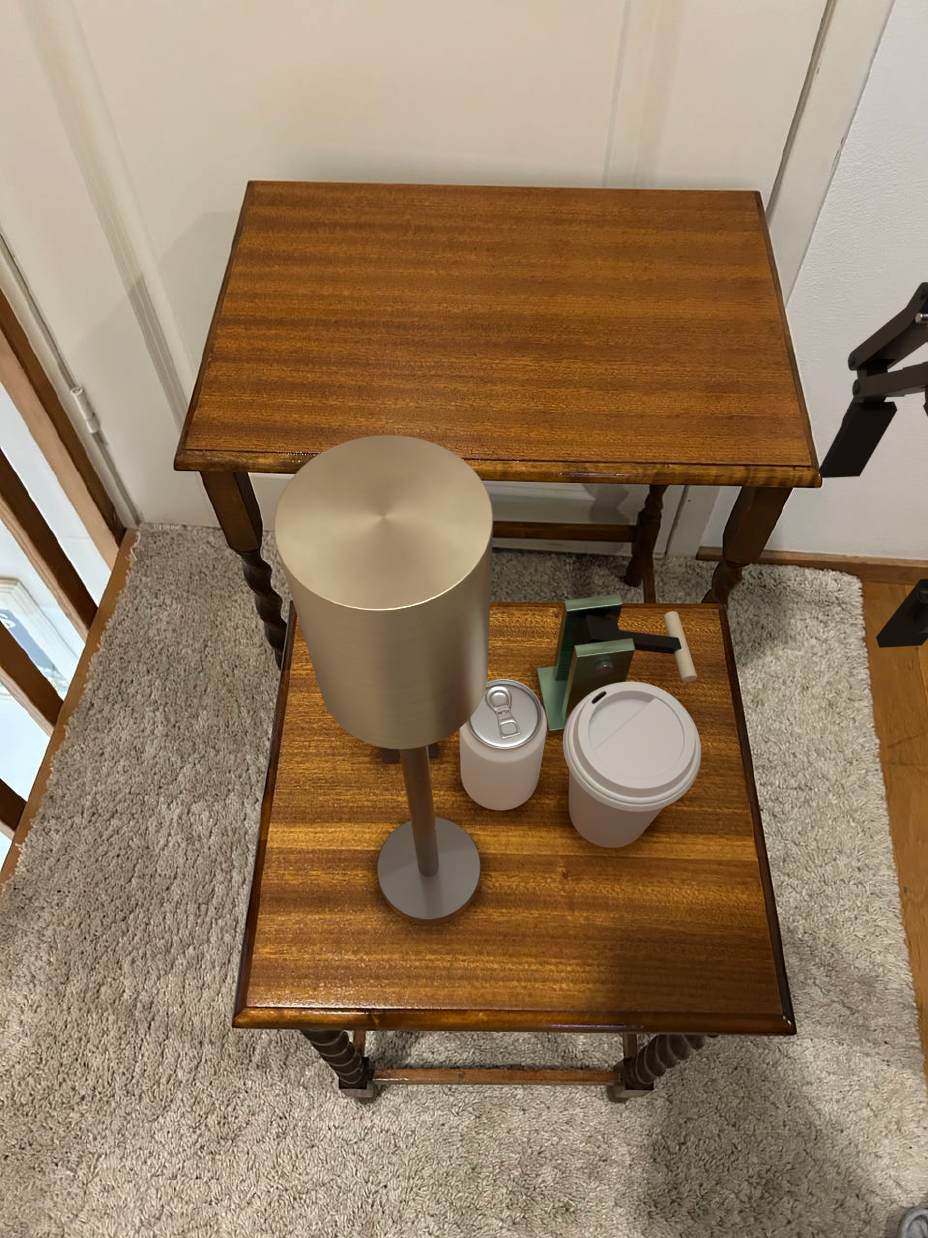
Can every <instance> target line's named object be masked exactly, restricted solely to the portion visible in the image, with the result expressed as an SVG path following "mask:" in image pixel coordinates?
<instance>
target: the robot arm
mask: <svg viewBox="0 0 928 1238" xmlns="http://www.w3.org/2000/svg"><path fill="white" fill-rule="evenodd" d="M925 344H928V281H922V282H921V283H920V284H919V285H918V287H917V288H916V290H915V291H914V293H913V295H912V296H911V298H910V299H909V301H908V303H907V304H906V306H905V307H904V308H903V309H902V310H901V311H900V312H898V313H897V314H896V315H895V316H893V317H892V318H891V319H890V320H889V321H887V322H886V323H885V324H884V325H882V326H881V327H880V328H879V329H878V330H876V331H875V332H874V333H872V334H871V335H870V336H869V337H868V338H866V339H865V340H864V341H863V342H862V343H860V345H858V346H857V347H855V348H854V349H853V350H852V351H851V352H850V353H849V355H848V357H847V366H848V370H849V371H851V372H856V377H857V378H856V379H855V380H854V381H853V383H852V387H851V393H852V394H851V395H852V399H851V401H850V402H849V405H848V407H847V409H846V411H845V412H844V415H843V416H842V419H841V423H840V427H839V429H838V431H837V433H836V435H835V437H834V439H833V441H832V443H831V444H830V447H829V449H828V451H827V453H826V454H825V457H824V459H823V460H822V463H821V465H819V469H818V472H819V475H820V477H821V479H832V478H834V479H836V478H857V477H861V475H862V474H863V472H864V470H865V468H866V467H867V464H868V463H869V461H870V459H871V457H872V456H873V454H874V452H875V450H876V449H877V447H878V445H879V443H880V442H881V440H882V438H883V437H884V434H886V431H887V430H888V428H889V426H890V424H891V422H892V420H893V419H894V417H895V415H896V413H897V412H898V408H897V405H896V402H895V401H892V400H891V401H890V400H889V401H886V400H887V398H904V397H905V396H908V395H915V394H920V393H924V401H925V402H924V403H923V405H922V408H923V410H924V412H925V414H926V417H928V360H925V361H923V362H921V363H917V364H912V365H908V366H904V367H902V368H901V369H897V370H892V371H889V370H890V369H891V368H893V367H894V366H896V365H897V364H899V363H900V362H901V361H902V360H904V359H906V358H907V357H908V356H910V355H911V354H912V353H914V352H915V351H917V350H919V348H921V347H922V346H923V345H925ZM875 640H876V642H877V646H878V648H879V649H882V648H885V649H886V648H900V647H901V648H902V647H903V648H904V647H905V648H906V647H922V646H923V645H924V644H925V643H926V642H927V640H928V578H920V579H919V580H918V581H917V583H916V584H915V586H914V587H913V588H912V589H911V590H910V592H909V594H907V596H906V597H905V598H904V600H903V601H902V602H901V604H900V605H899V607H898V608H896V610H895V612H894V613H893V614H892V615H891V617H890V618H889V619H888V621H887V622H886V623H885V625H884V626H883V627H882V628H881V630H880V631H879V632H878V634H877V635H876V636H875Z"/></svg>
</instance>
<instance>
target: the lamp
mask: <svg viewBox="0 0 928 1238" xmlns="http://www.w3.org/2000/svg"><path fill="white" fill-rule="evenodd" d="M493 532H494V511H493V504H492V501H491V497H490V494H489V492H488V489H487V487H486V485H485V483H484V482H483V480H482V479H481V477H480V476H479V474H478V473H477V472H476V471H475V469H473V467H472V466H471V465H470V464H469V463H468V462H466V460H464V459H463V458H462V457H460V456H459V455H457V454H456V453H454V452H453V451H451V450H450V449H448V448H446V447H443V446H442V445H440V444H437V443H435V442H432V441H430V440H426V439H422V438H419V437H415V436H414V437H413V436H408V435H399V434H382V435H381V434H380V435H369V436H363V437H359V438H355V439H351V440H347V441H345V442H342V443H339V444H336V445H334V446H332V447H330V448H327V449H326V450H324V451H322V452H321V453H319V454H318V455H316V456H315V457H313V458H311V459H310V460H308V461H307V462H306V463H305V464H304V465H303V466H302V467H300V468H299V470H297V472H296V473H295V474H294V475H293V476H292V477H291V479H290V480H289V482H288V483H287V484H286V486H285V487H284V489H283V491H282V492H281V494H280V496H279V500H278V502H277V504H276V509H275V512H274V517H273V537H274V544H275V548H276V550H277V554H278V557H279V560H280V563H281V566H282V571H283V573H284V576H285V580H286V584H287V586H288V590H289V594H290V597H291V600H292V603H293V607H294V609H295V613H296V616H297V620H298V622H299V626H300V629H301V632H302V636H303V639H304V643H305V647H306V649H307V652H308V656H309V659H310V662H311V666H312V669H313V672H314V676H315V679H316V682H317V685H318V688H319V691H320V695H321V698H322V701H323V703H324V705H325V708H326V709H327V711H328V713H329V714H330V716H331V718H332V719H333V720H334V721H335V722H336V723H337V724H338V725H339V727H340V728H342V729H343V730H344V731H345V732H346V733H348V734H350V735H351V736H352V737H354V738H356V739H358V740H360V741H362V742H363V743H366V744H369V745H372V746H375V747H379V748H381V747H383V748H389V749H399V752H400V756H399V759H400V763H401V769H402V777H403V783H404V787H405V793H406V800H407V806H408V807H407V808H408V813H409V818H410V820H408V821H406V822H404V823H402V824H400V825H399V826H397V827H396V828H395V829H394V830H393V831H392V832H391V833H390V834H389V835H388V836H387V838H386V839H385V841H384V842H383V843H382V846H381V848H380V851H379V853H378V856H377V857H378V858H377V861H376V877H377V881H378V885H379V889H380V892H381V894H382V897H383V899H384V901H385V902H386V904H387V906H388V907H389V908H390V909H391V910H392V912H393V913H394V914H396V915H397V916H398V917H400V918H401V919H403V920H405V921H407V922H409V923H412V924H415V925H419V926H426V927H427V926H429V927H431V926H439V925H443V924H446V923H449V922H451V921H453V920H455V919H456V918H458V917H459V916H461V915H463V913H464V912H465V911H467V909H468V908H469V907H470V906H471V905H472V903H473V901H474V900H475V898H476V895H477V894H478V891H479V888H480V884H481V876H482V863H481V857H480V852H479V849H478V846H477V845H476V842H475V841H474V839H473V838H472V836H471V835H470V834H469V833H468V832H467V831H466V830H465V829H464V828H463V827H462V826H461V825H459V824H457V823H456V822H454V821H452V820H450V819H447V818H444V817H441V816H440V817H439V816H436V815H435V805H434V797H433V786H432V777H431V776H432V775H431V767H430V765H431V764H430V758H429V754H428V745H429V744H432V743H435V742H438V743H439V741H442V740H444V739H446V738H447V737H449V736H451V735H452V734H454V733H456V732H457V731H459V730H460V727H462V726H463V725H464V724H465V723H466V722H467V721H468V720H469V719H470V718H471V716H472V715H473V714H474V712H475V711H476V709H477V708H478V706H479V704H480V702H481V700H482V698H483V695H484V692H485V689H486V684H487V682H488V674H489V649H490V623H491V622H490V621H491V591H492V590H491V589H492V565H493V564H492V561H493V539H494V538H493V535H494V533H493Z"/></svg>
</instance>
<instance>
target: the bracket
mask: <svg viewBox="0 0 928 1238" xmlns="http://www.w3.org/2000/svg"><path fill="white" fill-rule="evenodd" d="M623 605H624V603H623V600H622V596H621V593H616V594H606V595H599V596H591V597H582V598H581V597H580V598H574V599H566V600H563V605H562V612H561V618H560V624H559V631H558V637H557V643H556V649H555V656H554V661H553V665H552V666H545V667H543V666H542V667H537V668H536V673H535V675H536V681H537V686H538V692H539V696H540V703H541V705H542V707H543V709H544V712H545V715H546V721H547V729H546V732H547V735H548V737H553V736H559V735H564V729H565V726H566V723H567V720H568V718H569V716H570V714H571V713H572V711H573V710H574V708H575V707H576V706H577V705H578V704H579V703H580V702H581V701H582V700H583V699H584V698H585V697H586V696H587V695H589V694H590V693H592V692H593V691H595V690H597V689H599V688H601V687H604V686H607V685H610V684H614V683H621V682H627V678H628V674H629V671H630V669H631V664H632V662H633V658H634V655H635V651H636V650H635V647H634V643H633V639H632V638H631V639H623V640H615V641H607V642H599V643H591V644H583V645H575V646H574V642H573V638H572V633H571V630H572V629H573V628H574V627H575V626H576V625H577V624H578V623H579V622H580V621H581V620H582V619H583V617H584V616H585V615H592V616H600V617H608V618H615V619H617V623H619V621H620V617H621V612H622V610H623V609H622V608H623Z"/></svg>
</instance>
